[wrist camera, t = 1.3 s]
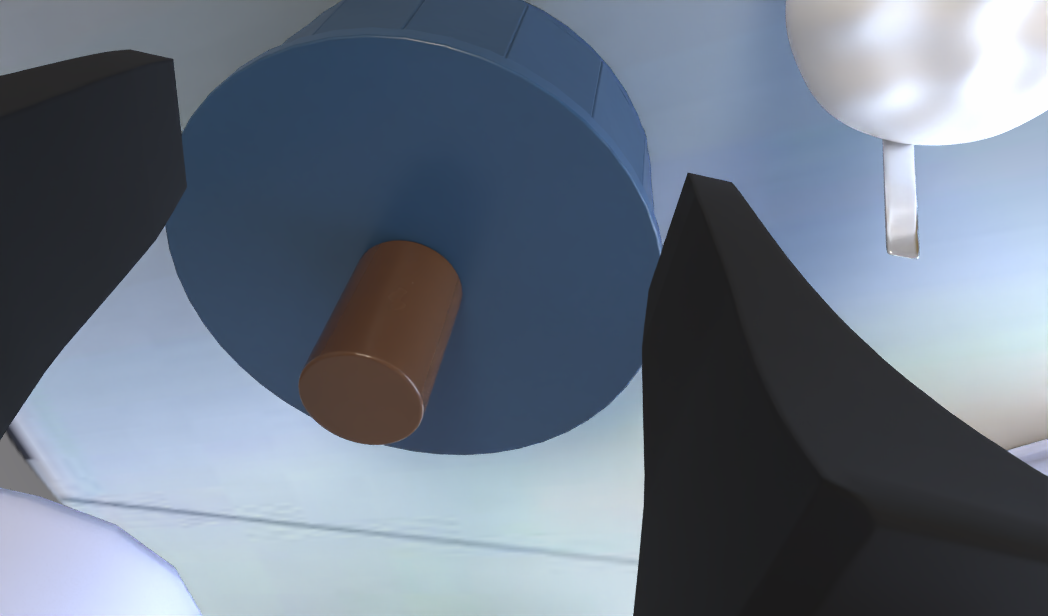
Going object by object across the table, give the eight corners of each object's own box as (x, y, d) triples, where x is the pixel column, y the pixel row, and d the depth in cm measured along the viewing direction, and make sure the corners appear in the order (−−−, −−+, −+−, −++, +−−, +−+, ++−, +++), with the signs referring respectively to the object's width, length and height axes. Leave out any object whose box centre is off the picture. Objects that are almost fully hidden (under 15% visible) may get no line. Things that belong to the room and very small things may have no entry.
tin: (739, 154, 22) (751, 247, 18) (507, 385, 28) (483, 487, 25) (370, -122, 19) (302, -73, 15) (205, 207, 25) (132, 293, 22)
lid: (775, 230, 19) (802, 385, 15) (491, 483, 26) (458, 635, 22) (303, -113, 16) (177, -33, 12) (126, 281, 22) (8, 415, 18)
